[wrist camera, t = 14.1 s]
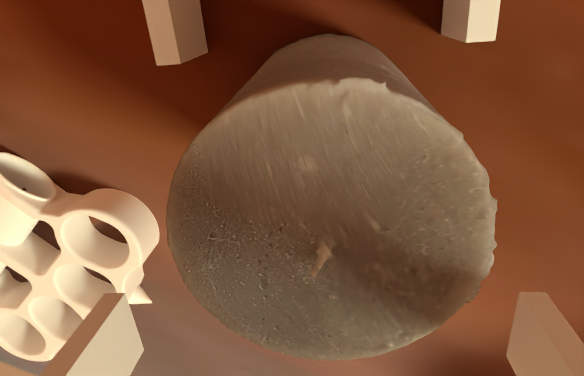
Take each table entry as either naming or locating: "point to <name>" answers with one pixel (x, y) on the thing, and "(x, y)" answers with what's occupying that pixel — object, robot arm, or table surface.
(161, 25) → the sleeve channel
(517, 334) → the robot arm
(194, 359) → the table surface
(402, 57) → the table surface
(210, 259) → the pillar candle
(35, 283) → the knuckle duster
